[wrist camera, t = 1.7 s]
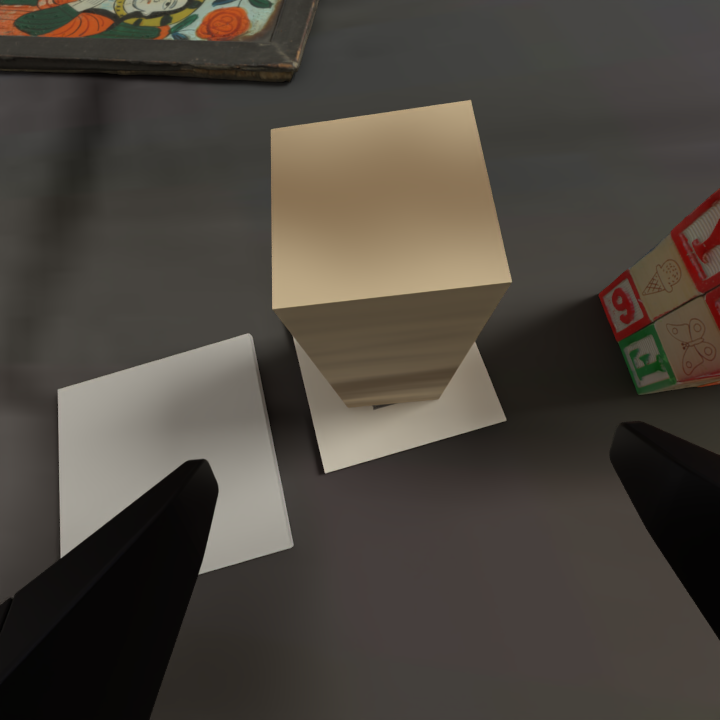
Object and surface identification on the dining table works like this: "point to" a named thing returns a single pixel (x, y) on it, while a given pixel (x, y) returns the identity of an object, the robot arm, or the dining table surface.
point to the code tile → (397, 415)
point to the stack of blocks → (672, 307)
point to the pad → (175, 447)
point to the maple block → (385, 248)
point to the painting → (157, 37)
